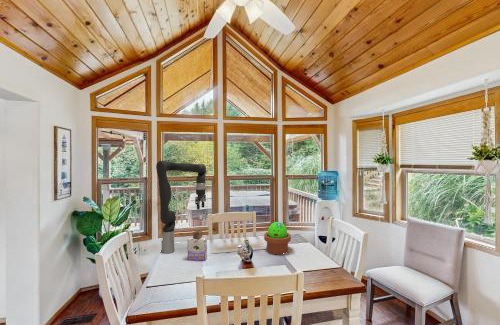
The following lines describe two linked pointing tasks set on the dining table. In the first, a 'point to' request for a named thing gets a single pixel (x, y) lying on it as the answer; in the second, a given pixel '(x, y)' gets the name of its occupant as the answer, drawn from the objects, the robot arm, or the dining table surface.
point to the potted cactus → (277, 238)
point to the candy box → (197, 249)
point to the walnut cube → (197, 234)
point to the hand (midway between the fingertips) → (200, 208)
